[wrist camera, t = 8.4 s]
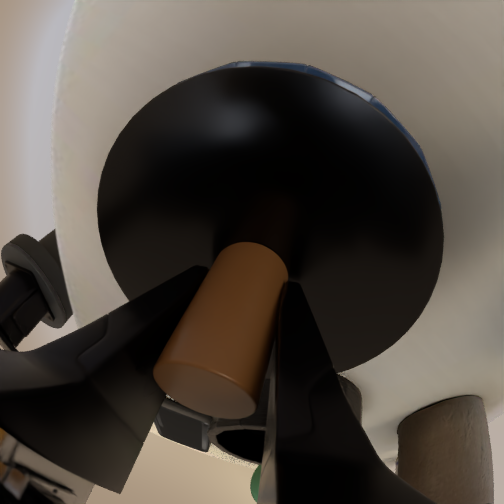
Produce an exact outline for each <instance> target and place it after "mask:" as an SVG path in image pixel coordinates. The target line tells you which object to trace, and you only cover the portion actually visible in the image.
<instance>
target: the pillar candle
mask: <svg viewBox="0 0 504 504" xmlns="http://www.w3.org/2000/svg"><path fill="white" fill-rule="evenodd" d="M397 434H398V444H399V448H398V474H397V475H398V476H399V477H400V478H402V479H403V480H404V481H406V482H407V483H408V484H410V485H411V486H413V487H414V488H415V489H417V490H418V491H420V492H421V493H423V494H424V495H425V496H427V497H428V498H430V499H431V500H433V501H434V502H436V503H437V504H486V503H491V504H494V489H493V488H494V483H493V465H492V452H491V444H490V438H489V431H488V424H487V418H486V413H485V408H484V404H483V401H482V399H481V398H480V397H477V396H463V397H457V398H454V399H450V400H446V401H443V402H440V403H438V404H435V405H433V406H431V407H428V408H426V409H423V410H420V411H418V412H416V413H414V414H412V415H411V416H409V417H407V418H406V419H405V420H403V421H402V423H400V425H399V426H398V429H397Z"/></svg>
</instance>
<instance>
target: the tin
mask: <svg viewBox="0 0 504 504" xmlns="http://www.w3.org/2000/svg"><path fill="white" fill-rule="evenodd" d="M337 376H338V378H339V381H340V383H341V386H342V388H343V390H344V393H345V395H346V397H347V399H348V401H349V403H350V405H351V407H352V409H353V411H354V413H355V415H356V416H357V418H358V420H359V422H360V424H361V426H362V397H361V393H360V392H359V390H358V388H357V387H356V386H355V385H354V384H353V383H351V382H350V381H349V380H347V379H345V378H344V377H342V376H339V375H337ZM269 391H270V379H267V378H265V381H264V385H263V389H262V393H261V397H260V400H259V404H258V408H257V410H256V411H255V412H254V413H253V414H252V415H250V416H248V417H245V418H240V419H225V418H218V417H213V418H212V420H211V423H210V426H209V428H208V431H207V434H208V437H209V440H210V442H211V443H213V444H214V445H215V446H216V447H218V448H219V449H220V450H222V451H223V452H226V453H228V454H230V455H232V456H234V457H236V458H239V459H241V460H245V461H248V462H251V463H255V464H258V465H262V459H263V450H264V441H265V431H266V422H267V412H268V401H269Z"/></svg>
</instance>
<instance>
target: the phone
mask: <svg viewBox="0 0 504 504" xmlns="http://www.w3.org/2000/svg"><path fill="white" fill-rule="evenodd" d="M212 418H213V416H209V415H206V414H202V413H200V412H197V411H194V410H192V409H190V408H188V407H186V406H184V405H182V404H179V403H176V402H174V401H171V400H169V399H166V398H165V399H164V401H163V403H162V405H161V407H160V409H159V412H158V414H157V416H156V418H155V420H154V423H155V426H156V428H157V430H158V433H159V434H160V435H161V436H163V437H165V438H167V439H170V440H172V441H175V442H177V443H180V444H183V445H185V446H188V447H191V448H194V449H197V450H200V451H203V452H208V450H209V447H210V444H211V442H210V440H209V437H208V434H207V431H208V428H209V426H210V423H211V420H212Z"/></svg>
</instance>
